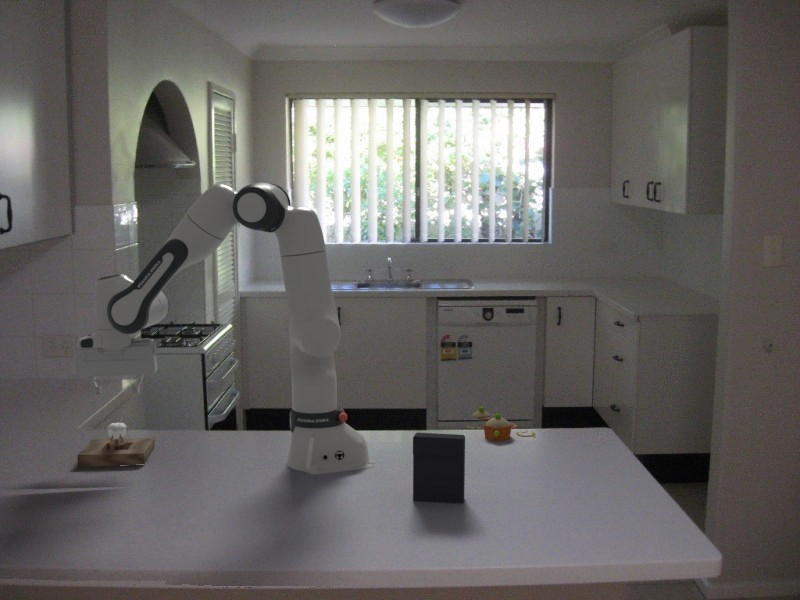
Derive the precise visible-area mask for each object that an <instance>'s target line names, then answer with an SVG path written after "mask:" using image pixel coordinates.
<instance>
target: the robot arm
mask: <svg viewBox="0 0 800 600" xmlns="http://www.w3.org/2000/svg"><path fill="white" fill-rule="evenodd" d="M238 224H240V225H242V226H243V227H245V228H247V229H250V230H253V231H259V232H264V233H268V234H272V233H273V234H274V235H275V236H276V238H277V242H278V247H279V255H280V262H281V263H280V264H281V268H282V269H281V270H282V275H283V276H282V277H283V284H284V289H285V294H286V297H287V298H286V299H287V302H288V307H289V311H290V319H289V322H288V329H287V330H288V347H289V360H290V361H289V362H290V373H291V408H290V412H289V429H290V432H291V433H290V434H291V435H290V443H289V451H288V455H287V459H286V462H285V463H286V466H287V467H289V468H290V469H292V470H295V471H300V472H305V473H307V474H309V475H313V476H314V475H315V476H316V475H321V474H322V475H323V474H331V473H339V472H347V471H358V470H365V469H371V468H372V467H373V468H374V466H375V465H376V464H377V460H373V459H372V458H370V457H369V449H368V444H367V441H366V439H365V437H364V436H363V435H362V433H360V432H359V431H358V430H356V429H355V428H353V427H351V426H350V425H349V424H347V423H346V422H347V420H348V414H347V413H346V412H345V410H344V409H343V408H342V407H341V408H340V407H338V405H337V404H338V398H337V397H338V391H337V390H338V389H337V388H338V387H337V383H338V382H337V380H338V376H337V372H336V365H335V355H334V353H335V351H337V349H338V348H339V346H340V344H341V339H342V330H341V326H340V320H339V315H338V310H337V305H336V301H335V297H334V293H333V288H332V283H331V277H330V272H329V271H330V270H329V264H328V257H327V251H326V249H327V248H326V243H325V238H324V233H323V229H322V226H321V223H320V220H319V217H318V214H317V213H316V212H315V211H314V210H313V209H312V208H309V207H307V206H291V199H290V197H289V194H288V193H287V192H286V191H285V190H284V188H283V187H281V186H279V185H277V184H274V183H267V182H255V183H252V184H247V185H245V186H244V187H241V188H240V190H238V191H237V190H236V189H234V188H233V187H231V186H229V185H227V184H223V183H215V184H211V185H210V186H209V187H208V188H207V189H206V190H205V191H204V192H203V193H202V194H201V195H200V196H199V197H198V198H197V199H196V200H195V201H194V202H193V204H192V205H191V206H190V207H189V209H188V210H187V211H186V213H185V214H184V216H183V217H182V218H181V220H180V221H179V222H178V224H177V225H176V227H175V229H174V230H173V231H172V233H171V234H170V235H169V237H168V239H167V240H166V241H165V242H164V244H163V245H162V247H161V248H160V249H159V250H158V252H157V253H156V254H155V255H154V256H153V258H152V259H151V260H149V262H148V264H147V265H146V266H145V268H144V269H143V270H142V271H141V272H140V274H139V275H138V276H137V277H136V279H132V278H130V277H129V276H128V275H127V274H124V273H118V274H113V275H107V276H102V277H100V278H98V279H97V280H96V281H95V282H94V283H95V284H94V289H93V312H94V315H95V325H94V329H95V331H94V333H90V334H88V335H86V336H82V337H80V338H78V339H77V340H76V343H75V346H76V348H77V349H76V350H75V352H74V354H73V361H72V372H73V375H74V376H75V377H77V378H88V382H89V384H90V385H91V386H92V388H93V394H94V395H101V394H102V385H98V383H97V382H96V380H97V378H98V377H123V376H125V377H126V376H135V377H136V378H135V379H136V380H137V382H136V384H133V385H132V386H131V389H132V390H131V392H132V393H133V394H138V393H140V390H141V389H140V385H141V384H142V381H143V379H144V376H153V375H154V374H156V372H157V371H158V363H157V362H158V361H157V356H156V354H157V352H158V345H157V342H156V341H155V340H153V339H151V337H145V338H139V337H136V338H135V337H133V334H136V333H137V332H139V331H141V330H143V329H146V328H150V327H151V326H154V325H157V324H159V323H160V322H162V321H163V320H164V319H166V317H167V315H168V314H169V312H170V311H169V309H170V303H169V299H168V297H167V296H166V294H165V293H164V292H163V291H164V289H165V287H167V285H168V284H169V283H170V282H171V280H172V279H173V278H174V277H175V276H176V275H177V274H179V273H180V272H182V271H183V270H185V269H186V268H189V267H190V266H193V265H195V264H197V263H200V262H202V261H204V260H206V259H207V258H209V256H211V255H213V253H214V252H215V251H216V250H217V249H218V248H219V247H220V246H221V245H222V243H223V242H224V241H225V239H226V238H227V237H228V235H230V234H229V233H230V232H231V231H232V230H233V229H234V228H235V226H237V225H238Z"/></svg>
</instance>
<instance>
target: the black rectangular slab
mask: <svg viewBox="0 0 800 600" xmlns="http://www.w3.org/2000/svg"><path fill="white" fill-rule="evenodd" d="M465 457H466V436H465V435H464V434H452V433H436V432H435V433H433V432H415V434H414V435H413V437H412V461H413V462H412V466H413V467H412V468H413V469H412V470H413V471H412V500H413V502H422V503H423V502H425V503H441V504H443V503H444V504H459V505H461V504H464V501H465V485H466V484H465V481H466V480H465V478H466V477H465V476H466V475H465V474H466V473H465V471H466V470H465V469H466V463H465V462H466V458H465Z"/></svg>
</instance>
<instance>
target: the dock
mask: <svg viewBox="0 0 800 600" xmlns="http://www.w3.org/2000/svg"><path fill="white" fill-rule="evenodd" d="M155 439H156V438H155V437H152V438H148V437H147V438H126V442H125V450H110V442H109V438H108V439H106V438H103V439H91V440H90V441H89V442H88V443H87V444H86V445H85V446H84V447H83V448H82V449H81V450H80V452H79V453H78V454H77V468H78V469H87V468H88V469H89V468H92V467H93V468H108V467H107V466H120V465H136V464H137V465H138V464H145V462H146V461H147V462H148V460H149V458H150V457H149V456H151V455H152V453H153V451H154V450H155V448H154V447H156V445H155V444H156V443H155ZM153 449H154V450H153ZM151 452H152V453H151ZM150 454H151V455H150ZM148 457H149V458H148ZM147 459H148V460H147ZM147 462H146V463H147ZM145 465H146V464H145Z"/></svg>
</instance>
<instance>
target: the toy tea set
mask: <svg viewBox="0 0 800 600" xmlns="http://www.w3.org/2000/svg"><path fill="white" fill-rule="evenodd" d="M472 416H473V417H475V418H477V419H479V420H483V421H486V422H485V423H484V424H483V432H484V438H485V439H487V440H490V441H496V442H499V441H501V442H502V441H507V440H508V439H510V438H511V433H512V429H515V428H517V427H518V425H517V424H516V423H512V422H509V421H508V420H507V419H505V418H503V417H501V413H496V414H491V413H489V412H487V411H486V410H485V408H484V407H483V406H479V408H478V410H476V411H475V412H473V413H472ZM491 416H494V417H491ZM490 417H491V418H490ZM512 425H513V426H512ZM466 427H467V428H468V429H474V426H473V427H472V426H471V425H470V426H468V425H466ZM478 429H481V427H478ZM528 432H529V431H528V430H526V431H523V432H521V434H520V432H517V431H516V432H515V435H516V436H519V437H523V438H524V437H525V438H527V437H528V438H537V436H536V432H532V431H531V432H530V433H531V434H529V435H525V434H526V433H527V434H528ZM523 434H524V435H523Z"/></svg>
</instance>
